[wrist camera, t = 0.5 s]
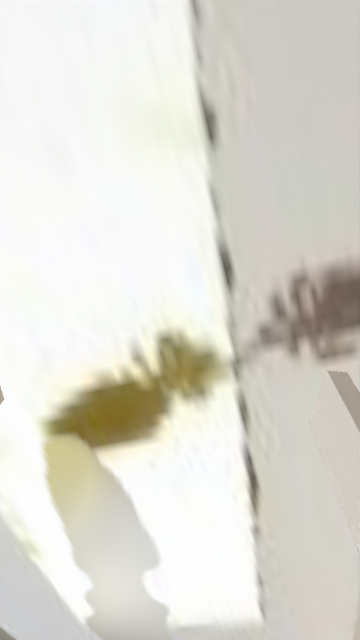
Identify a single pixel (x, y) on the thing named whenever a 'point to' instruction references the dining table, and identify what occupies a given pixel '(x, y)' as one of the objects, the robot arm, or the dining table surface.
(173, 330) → the dining table surface
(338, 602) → the dining table surface
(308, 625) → the dining table surface
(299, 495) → the dining table surface
